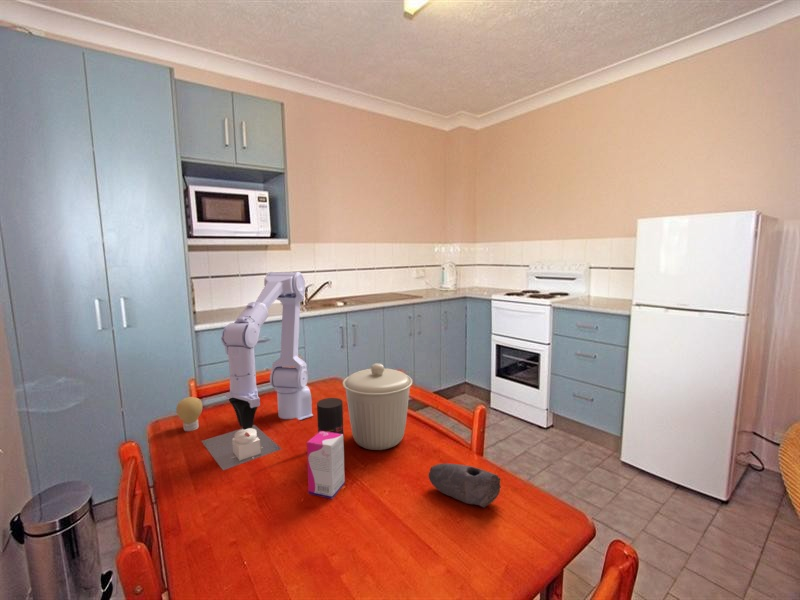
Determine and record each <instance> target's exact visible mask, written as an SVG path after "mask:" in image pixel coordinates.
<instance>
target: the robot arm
mask: <svg viewBox="0 0 800 600" xmlns="http://www.w3.org/2000/svg"><path fill="white" fill-rule="evenodd" d="M263 280H264V282H263V283H264V284H263V285H264V287H263V289H262V290H261V292H260V294H259V296H258V297H257V299H256V301H251V302H248V303H247V305H246V307H245V308H244V309H243V310H242V312H241V313H240V314H239V315H238V317H237V318H236V320H235V321H234V322H231V323H229V324H227V325H226V326H225V327H223V330H222V333H221V337H220V338H221V339H220V340H221V343H222V345H223V347H224V350H225V354H226V355H227V357H228V371H229V392H226V393H225V397H226V398H227V399H228V402H229V403H230V404H231V406H232V407H233V410H234V413H235V416H236V419H237V423H238V425H239V426H240V427H241V429H242V428H243V429H244V430H245V429H248V428H252V426H253V425H254V421H255V415H256V413H257V409H258V408H259V406H261V399H260V397H259V395H258V387H257V377H256V375H257V374H256V361H255V360H256V357H255V346H256V345H257V344H258V342H259V338H260V336H259V335H260V333H261V328H262V327H263V325H264V323H265V322H266V320H267V319H268V318H269V314H270V313H269V308H270V307H271V306H272V305H273V304H274V302H275V301H276V300H277V301H279V302H280V303H281V305H282V312H281V313H282V314H281V319H282V320H281V333H280V334H281V335H280V338H281V339H280V357H279V358H278V359H277V360H275V361H274V362H273V363H272V366H271V372H270V374H269V383H270V385H271V387H272V388H274V392H276V394H277V396H276V397H277V410H278V411H277V413H278V415H277V416H278V418H280V419H282V420H292V419H297V420H299V421H302V420H305V419H308V418H311V417H313V416H314V414H313V410H312V405H313V404H312V394H311V389H310V387H309V386H308V385H307V383H308V380H309V375H308V374H309V373H308V369H307V368H308V364H307V363H306V361H304V360H303V359H302V358H300V357H299V340H300V338H299V335H300V315H301V314H300V313H301V311H300V310H301V302H303V301H304V300H305V294H306V293H305V292H306V291H305V290H306V289H305V288H306V280H305V278H304V276H303V274H302V272H300V271H296V272H294V271H293V272H291V271H290V272H287V271H285V272H283V271H281V272H280V271H279V272H278V271H269V272H268V273H267V274H266V276H265V277H264V279H263Z"/></svg>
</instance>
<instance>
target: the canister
mask: <svg viewBox="0 0 800 600" xmlns="http://www.w3.org/2000/svg"><path fill="white" fill-rule="evenodd" d="M412 385H413V378H411V376H409V375H407V374H406V373H405V372H403V371H400V370H397V369H392V368H387V367H386V368H385V366H384V365H383V363H380V362H379V363H378V362H376V363H373V364H372V365H371V366H370V368H367V369H362V370H359V371H355V372H354V373H352V374H350V375H348V376H347V377H345V378H344V379H343V380H342V386H343V388H344V389H345V393H346V402H347V403H346V404H347V409H348V416H349V422H350V429H351V434H352V437H353V439H354V441H355V443H356V444H357V445H358V446H359V447H362V448H363V449H365V450H366V449H367V450H372V451H383V450H388V449H391V448H394V447H395V446H397V445H398V444H400V443H401V441H402V439H403V438H404V436H405V430H406V425H407V418H408V417H407V416H408V408H409V399H410V389H411V387H412Z"/></svg>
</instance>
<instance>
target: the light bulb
mask: <svg viewBox="0 0 800 600" xmlns="http://www.w3.org/2000/svg"><path fill="white" fill-rule="evenodd" d="M203 407H204V406H203V402H202V401H201V399H200V398H197V397H194V396H189V397H188V396H187V397H184V398H183V399H181V400H180V401H179V402H178V403H177V405H176V408H175V410H176V411H175V412H176V415H177V417H178V418H179V419H180V420H182V424H183V425H182V426H183V427H182V428H183V430H184V431H185V432H192V431H195V430H197V429H199V427H200V426H199V417H200V416H201V414H202V412H203Z"/></svg>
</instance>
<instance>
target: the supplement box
mask: <svg viewBox="0 0 800 600" xmlns="http://www.w3.org/2000/svg"><path fill="white" fill-rule="evenodd" d="M343 435H344V433H343V434H338V433H331V432H325V431H320V432H319V433H318V432H317V433H316V434H315V435H314V436H313V437H311V438H310V439H309V440H308V441H307V442H306V451H307V452H306V453H307V454H306V455H307V456H306V457H307V480H308V484H307V485H308V494H309V495H311V496H312V495H313V496H317V497H322V498H327V499H329V500H333V499H334V498H335V497H336V495H338V492H340V490H341V489H342V488H343V486H344V485H345V484H346V482H345V481H346V477H345V446H344V445H345V443H344V444H343Z"/></svg>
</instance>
